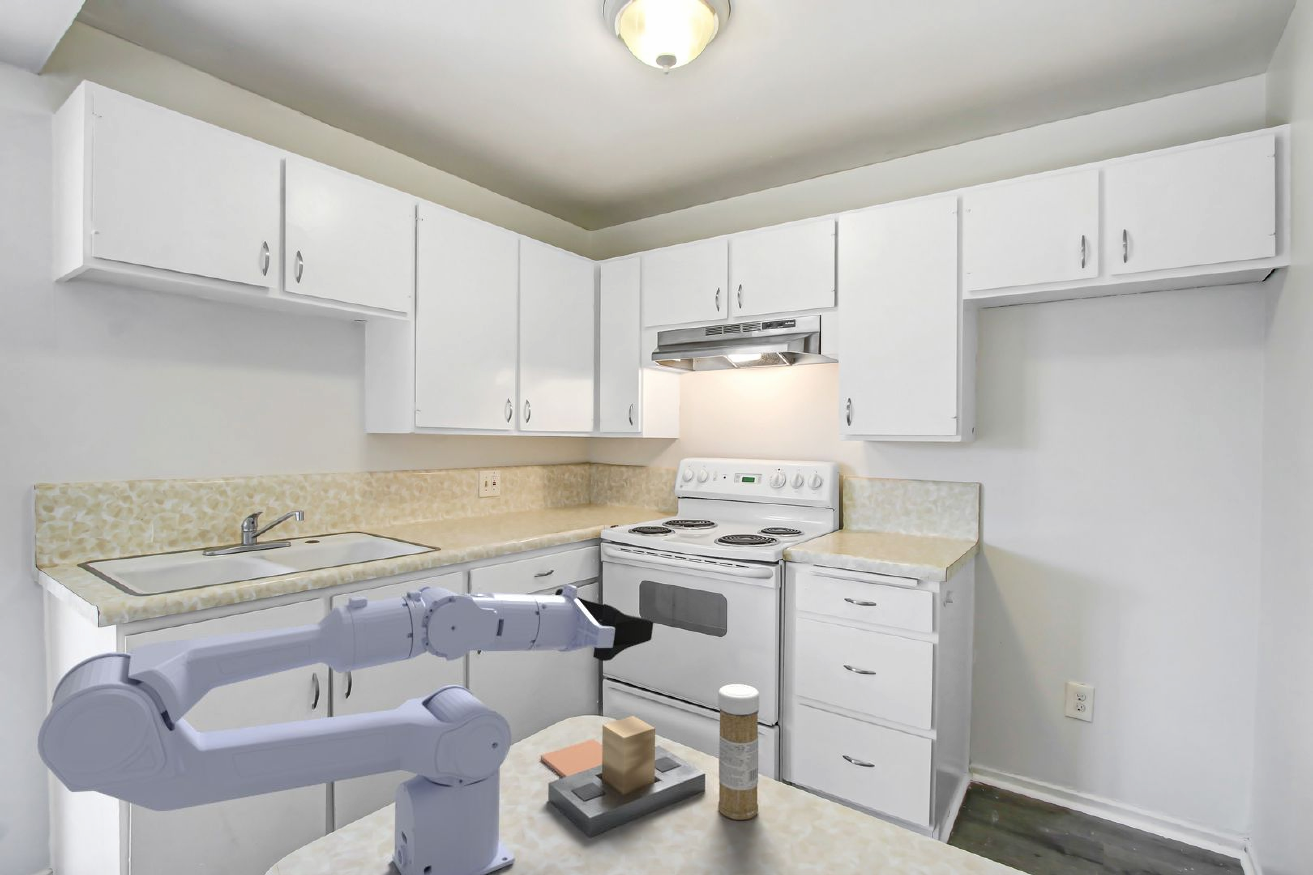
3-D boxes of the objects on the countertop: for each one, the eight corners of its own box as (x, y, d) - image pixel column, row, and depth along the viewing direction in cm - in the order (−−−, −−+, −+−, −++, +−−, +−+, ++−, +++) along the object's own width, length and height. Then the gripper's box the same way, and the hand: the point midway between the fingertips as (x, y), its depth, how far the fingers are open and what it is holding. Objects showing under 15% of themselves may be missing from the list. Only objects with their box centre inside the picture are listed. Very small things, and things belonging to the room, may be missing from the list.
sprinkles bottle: (737, 795, 77) (738, 679, 77) (767, 812, 74) (767, 690, 74) (709, 808, 74) (709, 688, 74) (738, 826, 71) (739, 700, 71)
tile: (572, 784, 79) (572, 780, 79) (540, 759, 86) (540, 755, 86) (626, 765, 84) (626, 761, 84) (593, 742, 90) (593, 739, 90)
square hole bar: (589, 837, 68) (590, 816, 69) (548, 800, 76) (548, 781, 76) (705, 789, 78) (705, 772, 78) (658, 761, 85) (658, 744, 85)
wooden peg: (623, 809, 74) (623, 737, 74) (601, 793, 77) (602, 724, 77) (654, 797, 77) (655, 727, 77) (632, 782, 80) (633, 715, 80)
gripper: (566, 596, 64) (674, 600, 72) (503, 572, 75) (602, 578, 84) (555, 670, 63) (665, 666, 71) (493, 635, 75) (593, 635, 83)
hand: (630, 623), depth 77 cm, fingers open, 7 cm apart
